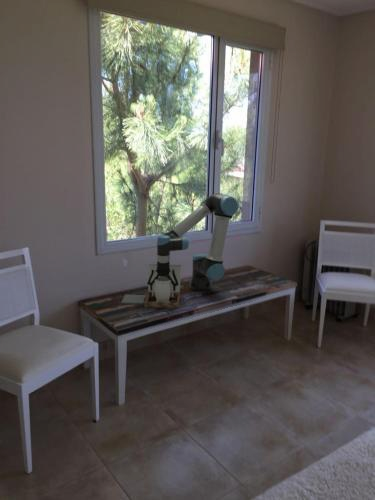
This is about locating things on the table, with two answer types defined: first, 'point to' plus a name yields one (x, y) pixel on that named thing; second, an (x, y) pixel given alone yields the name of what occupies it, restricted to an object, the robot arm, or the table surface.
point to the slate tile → (133, 299)
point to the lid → (177, 273)
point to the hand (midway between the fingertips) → (162, 295)
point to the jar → (162, 289)
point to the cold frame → (162, 304)
